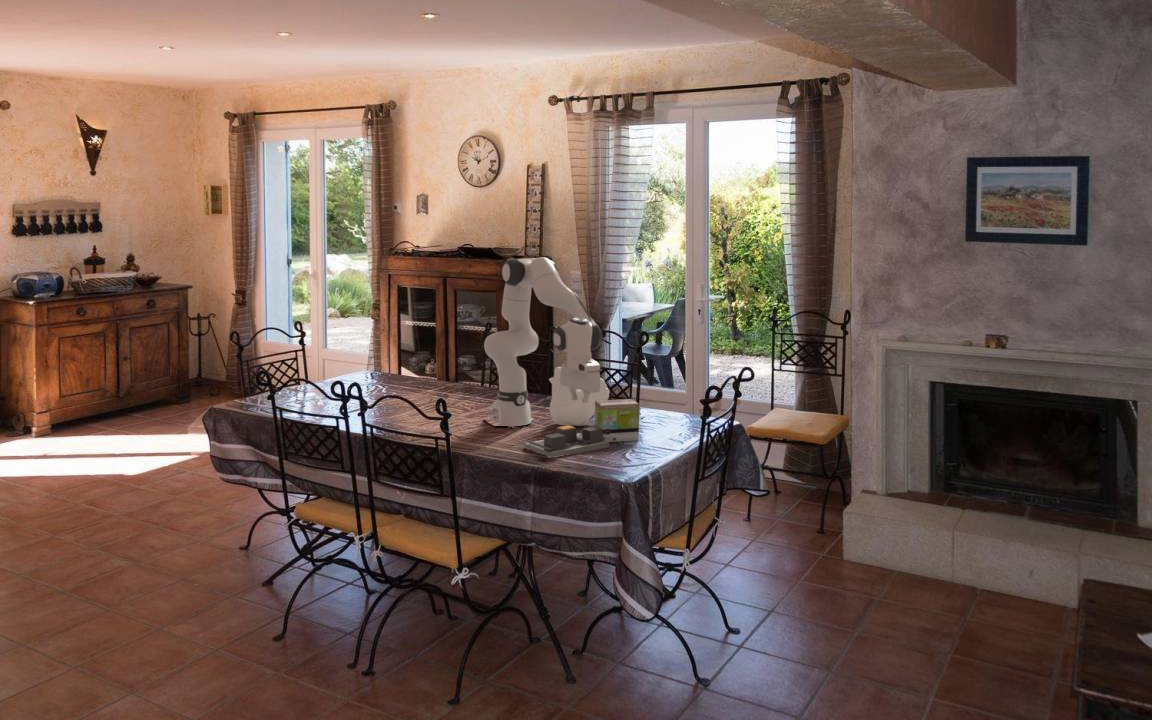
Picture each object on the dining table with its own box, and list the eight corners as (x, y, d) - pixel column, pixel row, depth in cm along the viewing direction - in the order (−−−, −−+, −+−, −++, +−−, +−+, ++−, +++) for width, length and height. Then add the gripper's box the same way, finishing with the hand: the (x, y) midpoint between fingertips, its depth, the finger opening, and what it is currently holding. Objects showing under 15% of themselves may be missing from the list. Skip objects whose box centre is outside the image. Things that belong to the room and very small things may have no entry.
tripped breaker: (549, 441, 371) (549, 426, 370) (568, 438, 376) (568, 423, 375) (563, 446, 364) (563, 431, 363) (582, 442, 369) (582, 427, 368)
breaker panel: (523, 448, 370) (523, 430, 369) (580, 438, 385) (580, 420, 384) (551, 458, 356) (550, 439, 354) (608, 447, 370) (608, 428, 369)
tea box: (601, 444, 376) (601, 405, 373) (594, 438, 385) (593, 400, 383) (639, 440, 380) (639, 402, 377) (631, 435, 389) (631, 397, 387)
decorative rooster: (550, 430, 398) (549, 369, 394) (548, 422, 414) (547, 362, 410) (613, 428, 400) (612, 367, 396) (608, 420, 416) (607, 361, 412)
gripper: (555, 360, 364) (556, 397, 366) (588, 367, 348) (589, 406, 350) (569, 358, 368) (570, 395, 370) (603, 365, 351) (603, 404, 354)
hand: (579, 401), depth 360 cm, fingers open, 5 cm apart
